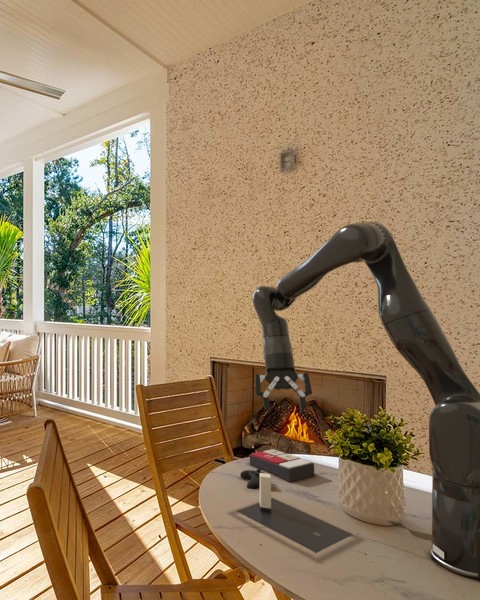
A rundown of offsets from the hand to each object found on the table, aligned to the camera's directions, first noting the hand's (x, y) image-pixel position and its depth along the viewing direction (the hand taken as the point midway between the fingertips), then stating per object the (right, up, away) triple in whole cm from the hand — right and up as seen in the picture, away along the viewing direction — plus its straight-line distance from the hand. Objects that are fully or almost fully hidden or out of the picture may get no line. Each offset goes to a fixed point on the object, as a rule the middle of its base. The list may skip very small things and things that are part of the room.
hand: (285, 411), depth 119 cm
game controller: (-7, -22, +4) cm, 23 cm away
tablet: (-7, -22, -19) cm, 30 cm away
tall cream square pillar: (-11, -21, -12) cm, 27 cm away
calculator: (+6, -22, +15) cm, 27 cm away
